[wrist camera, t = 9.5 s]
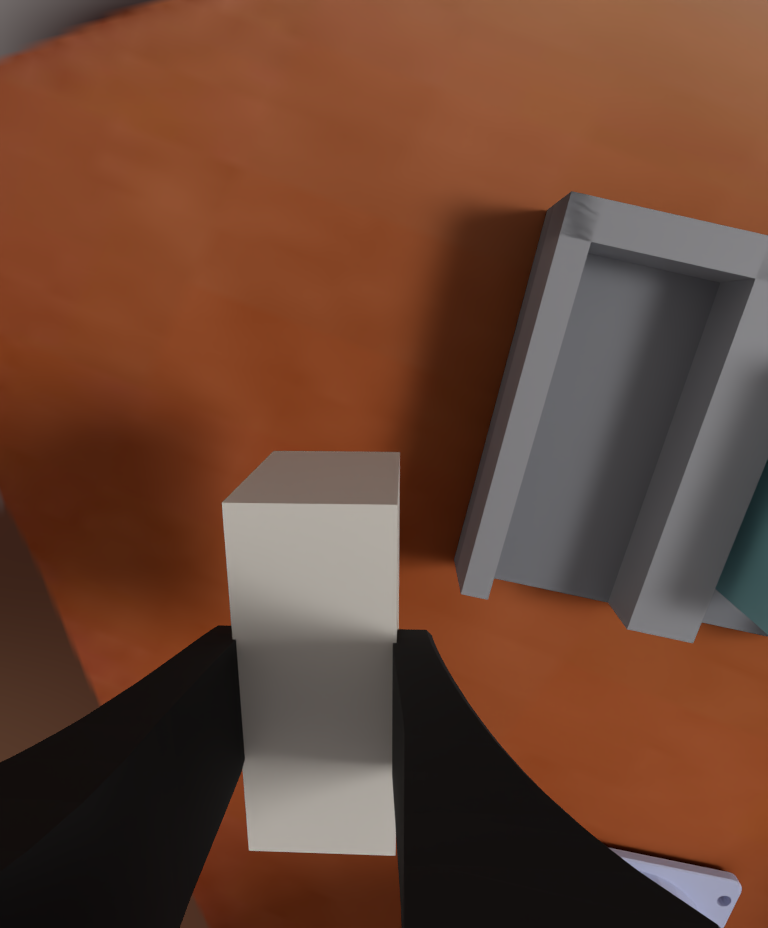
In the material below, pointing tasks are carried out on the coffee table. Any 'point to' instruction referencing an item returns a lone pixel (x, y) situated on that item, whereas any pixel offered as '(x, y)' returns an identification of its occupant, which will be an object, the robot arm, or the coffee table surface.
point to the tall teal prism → (750, 560)
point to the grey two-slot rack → (627, 418)
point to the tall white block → (316, 647)
